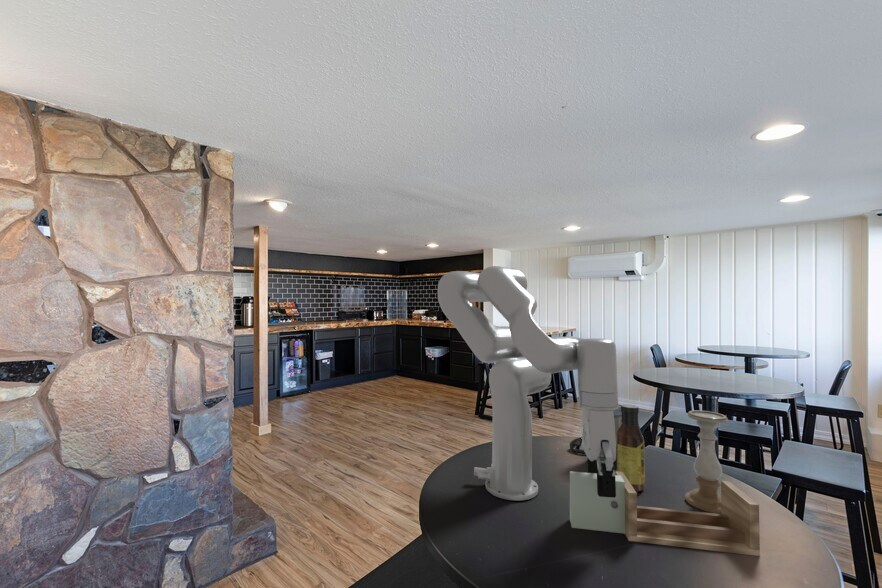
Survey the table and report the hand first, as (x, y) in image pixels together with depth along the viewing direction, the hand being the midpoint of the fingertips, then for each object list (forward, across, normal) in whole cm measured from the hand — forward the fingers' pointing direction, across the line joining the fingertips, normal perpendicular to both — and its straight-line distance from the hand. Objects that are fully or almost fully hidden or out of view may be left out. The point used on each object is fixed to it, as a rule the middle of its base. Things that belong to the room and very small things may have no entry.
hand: (601, 485), depth 79 cm
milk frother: (+8, -40, +6) cm, 41 cm away
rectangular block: (+8, -1, -1) cm, 8 cm away
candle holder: (+9, -16, +26) cm, 32 cm away
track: (+9, -2, +15) cm, 17 cm away
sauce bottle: (+8, -22, +11) cm, 26 cm away
